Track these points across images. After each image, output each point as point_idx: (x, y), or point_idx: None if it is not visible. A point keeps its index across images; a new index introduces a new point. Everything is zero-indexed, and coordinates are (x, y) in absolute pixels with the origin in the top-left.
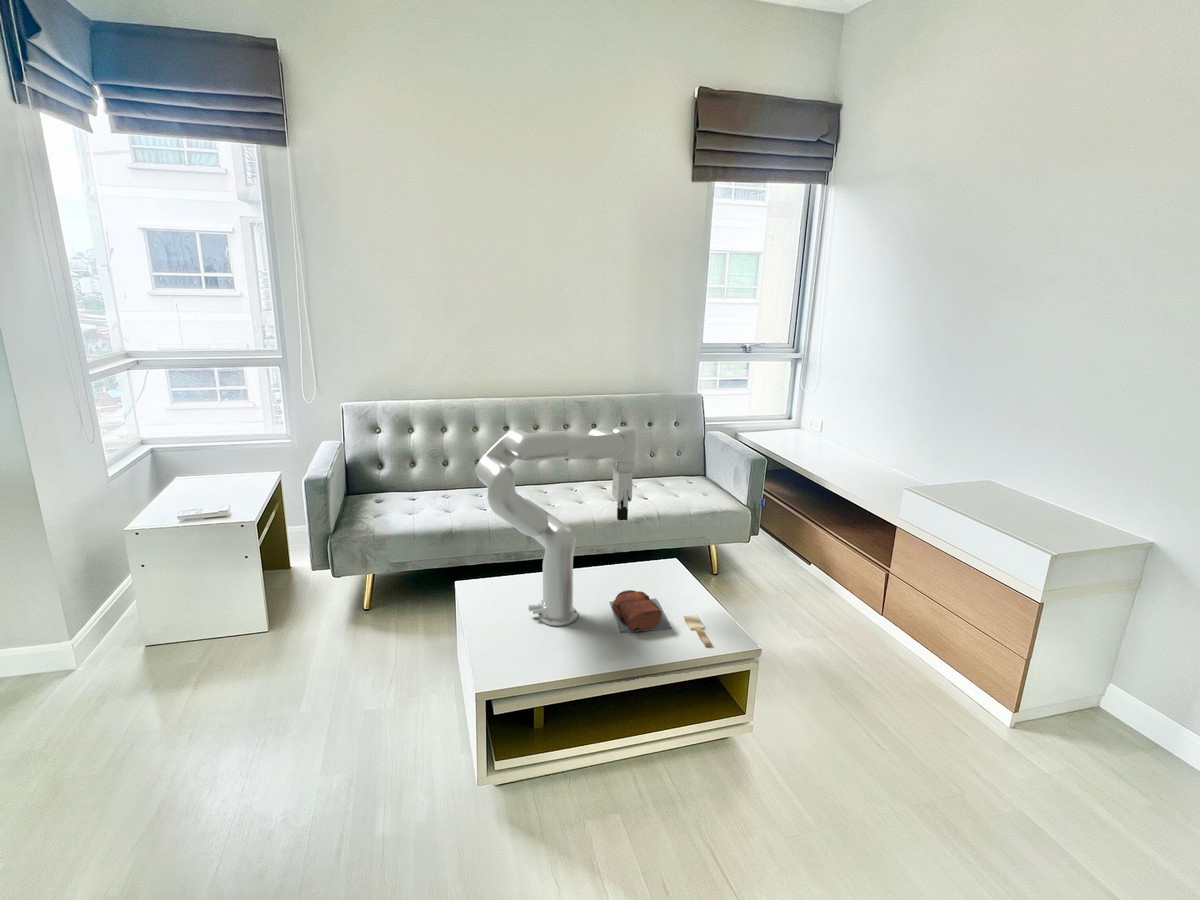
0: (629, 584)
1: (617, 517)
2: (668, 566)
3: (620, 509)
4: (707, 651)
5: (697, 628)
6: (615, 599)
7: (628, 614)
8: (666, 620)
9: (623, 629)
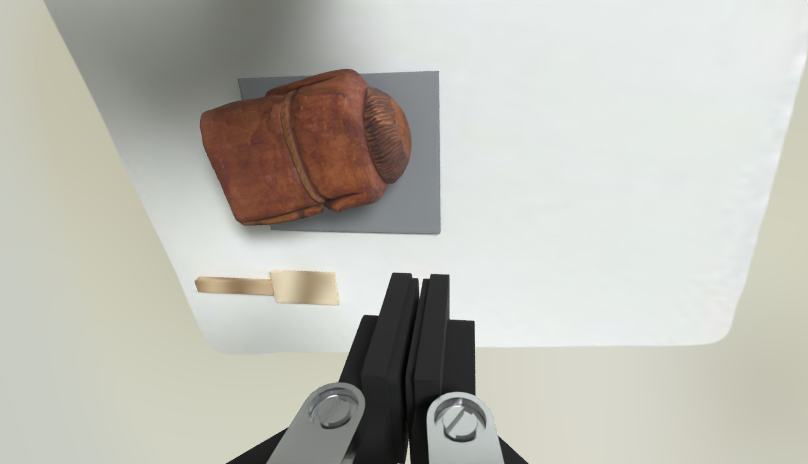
0: (575, 172)
1: (430, 282)
2: (676, 328)
3: (366, 392)
4: (183, 275)
5: (263, 287)
6: (341, 87)
7: (222, 116)
8: (305, 227)
9: (246, 90)
